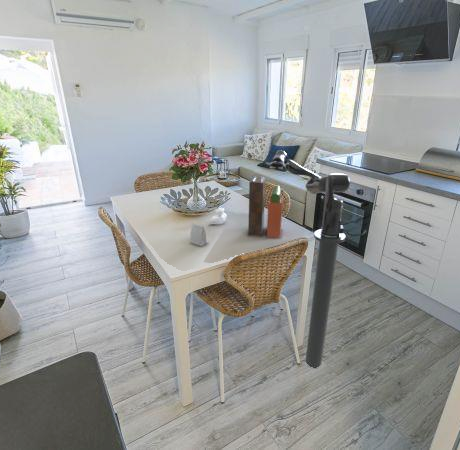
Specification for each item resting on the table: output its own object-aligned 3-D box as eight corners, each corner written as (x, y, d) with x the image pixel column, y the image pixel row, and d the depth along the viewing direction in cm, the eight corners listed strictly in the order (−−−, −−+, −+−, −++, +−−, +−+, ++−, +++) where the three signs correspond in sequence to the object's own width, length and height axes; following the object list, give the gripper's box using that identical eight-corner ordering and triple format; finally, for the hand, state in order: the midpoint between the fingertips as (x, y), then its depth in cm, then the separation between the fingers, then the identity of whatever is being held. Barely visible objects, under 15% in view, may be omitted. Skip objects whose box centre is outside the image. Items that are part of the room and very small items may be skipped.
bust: (211, 230, 182) (219, 219, 174) (204, 220, 184) (211, 208, 176) (226, 224, 190) (234, 213, 182) (220, 214, 192) (227, 203, 184)
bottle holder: (280, 230, 179) (283, 195, 171) (279, 238, 168) (282, 201, 160) (268, 229, 180) (270, 194, 172) (266, 237, 169) (268, 200, 161)
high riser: (263, 228, 180) (265, 176, 168) (261, 237, 169) (263, 181, 157) (251, 227, 181) (252, 175, 169) (248, 236, 170) (249, 180, 158)
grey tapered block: (201, 246, 157) (200, 228, 153) (191, 243, 161) (190, 225, 157) (206, 243, 160) (205, 225, 156) (196, 240, 163) (195, 222, 159)
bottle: (281, 191, 179) (282, 183, 177) (279, 202, 160) (280, 193, 158) (273, 191, 180) (273, 183, 178) (270, 202, 161) (270, 193, 159)
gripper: (266, 156, 197) (264, 160, 183) (289, 156, 195) (288, 161, 181) (266, 167, 200) (263, 173, 185) (288, 168, 198) (288, 174, 183)
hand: (276, 167), depth 183 cm, fingers open, 8 cm apart
